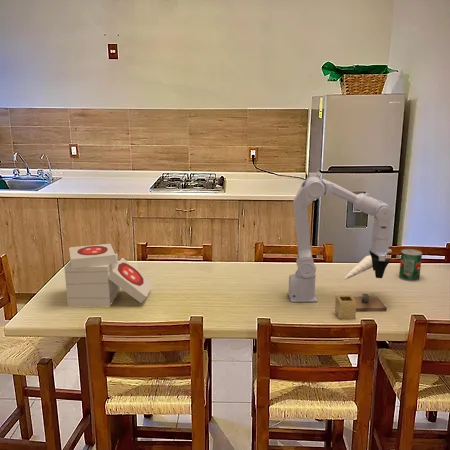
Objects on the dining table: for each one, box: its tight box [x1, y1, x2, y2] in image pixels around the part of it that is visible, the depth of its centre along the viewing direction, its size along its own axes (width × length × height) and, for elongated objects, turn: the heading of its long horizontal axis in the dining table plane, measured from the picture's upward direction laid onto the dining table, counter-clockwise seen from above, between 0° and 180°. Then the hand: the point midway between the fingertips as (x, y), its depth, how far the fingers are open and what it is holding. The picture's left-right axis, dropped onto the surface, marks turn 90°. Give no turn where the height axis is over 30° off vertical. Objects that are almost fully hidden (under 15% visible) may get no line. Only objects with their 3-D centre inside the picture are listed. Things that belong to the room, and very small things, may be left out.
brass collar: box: [334, 294, 357, 320], centre depth 162 cm, size 6×6×6 cm
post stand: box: [353, 293, 388, 312], centre depth 170 cm, size 12×10×4 cm
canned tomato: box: [398, 248, 423, 282], centre depth 196 cm, size 8×8×11 cm
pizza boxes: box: [64, 243, 154, 307], centre depth 175 cm, size 19×30×18 cm, turn 89°
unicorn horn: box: [343, 255, 373, 280], centre depth 204 cm, size 5×24×5 cm, turn 135°
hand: (377, 274), depth 173 cm, fingers open, 7 cm apart
